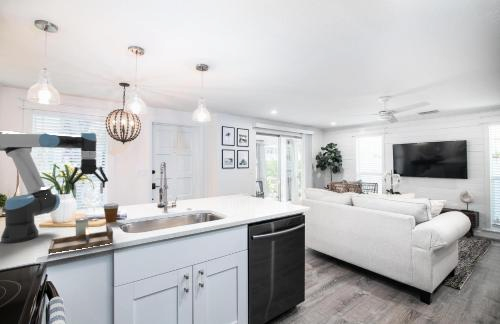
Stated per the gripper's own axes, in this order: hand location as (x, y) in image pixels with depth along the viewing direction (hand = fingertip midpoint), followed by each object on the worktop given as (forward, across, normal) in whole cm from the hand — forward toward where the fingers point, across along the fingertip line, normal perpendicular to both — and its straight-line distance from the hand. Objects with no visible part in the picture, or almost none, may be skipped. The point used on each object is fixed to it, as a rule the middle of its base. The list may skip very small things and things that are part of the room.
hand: (88, 194), depth 145 cm
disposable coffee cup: (+23, +18, +18) cm, 34 cm away
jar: (+23, -4, -4) cm, 24 cm away
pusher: (+22, -5, -20) cm, 30 cm away
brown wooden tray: (+23, -7, -20) cm, 31 cm away
